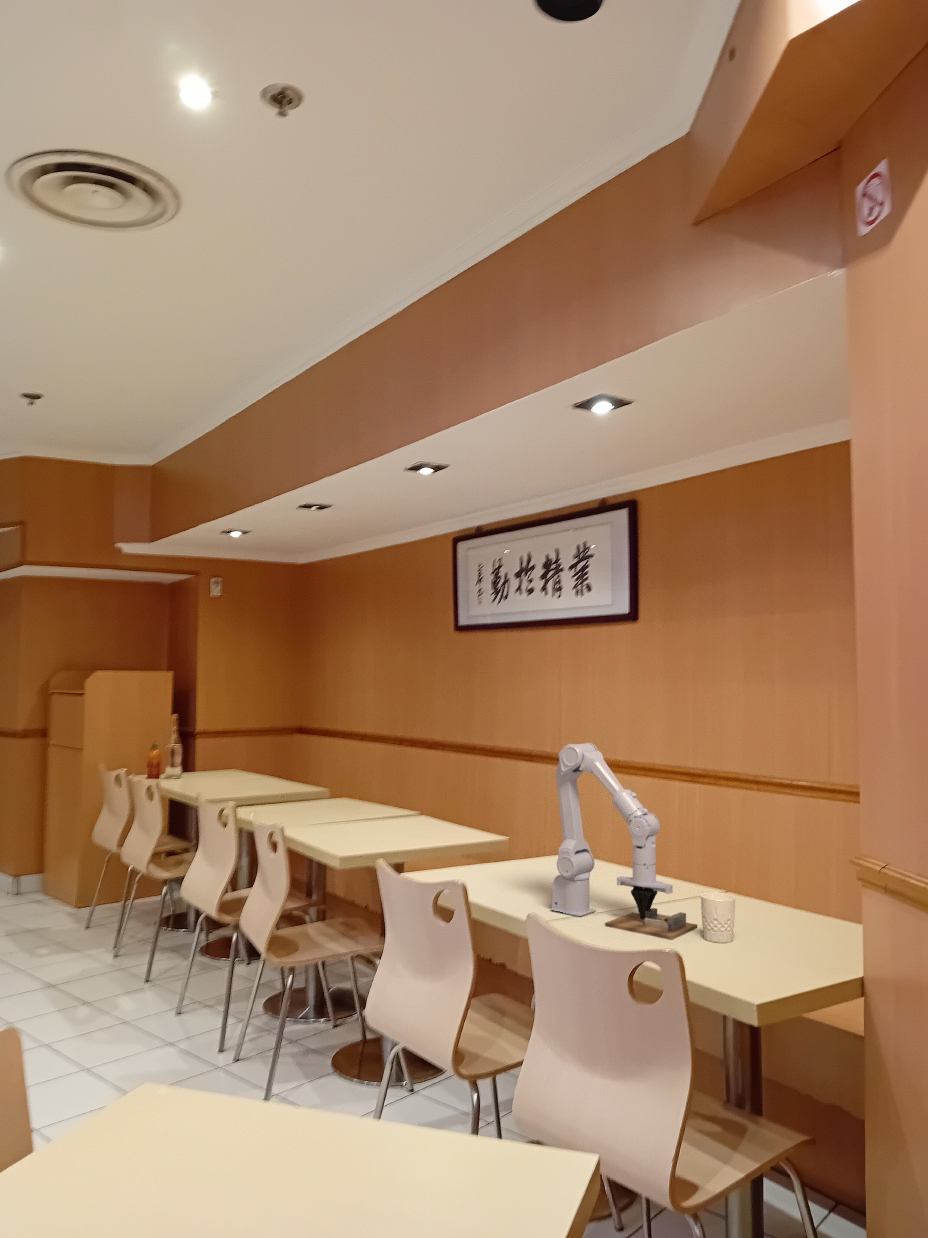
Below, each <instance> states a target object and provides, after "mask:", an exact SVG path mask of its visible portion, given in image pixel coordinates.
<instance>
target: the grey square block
mask: <svg viewBox="0 0 928 1238" xmlns="http://www.w3.org/2000/svg"><path fill="white" fill-rule="evenodd" d="M657 914H658V908H657V907H656V908H655V907H651V908H650V909H649V910H646V911H645V918H646V917H648V918H653V919H658V920H662V921H668V917H667V916H668V915H667V916H661V915H657Z"/></svg>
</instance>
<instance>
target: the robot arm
mask: <svg viewBox="0 0 928 1238" xmlns="http://www.w3.org/2000/svg"><path fill="white" fill-rule="evenodd" d="M603 756H604V755H603V754H602V753H601V751H600V750H598V748H597V746H596V745H595V744H593V743H592V742H584V743H576V744H575V743H568V744H566V745H565V746H564V747H563V748H562V749H561V751H559V752H558V760H559V761H558V764H557V767H556V771H555V781H556V790H557V799H558V805H559V806H558V807H559V815H560V825H561V831H562V832H561V833H562V843H560V846H559V848H558V850H557V851H558V857H557V861H556V868H557V871H558V873H559V875H556V876H555V877H554V878H553V881H552V886H551V908H550V909H551V910H556V911H560V912H563V913H562V914H565V913H566V914H567V915H571V916H577V917H583V916H586V915H588V914H591V913H594V912H596V910H597V909H596V908H592V907H590V877H591V872H592V871H593V870H594V869H595V858H594V855H593V854H592V852H591V846H590V845H589V843H588V842H587V840H586V839H585V838H584V830H583V829H584V828H583V820H582V813H581V804H580V797H579V795H580V794H579V789H578V779H579V777H580V776H582V774H583V773H584V772H585V773H589V774H593V776H595V777H596V779H597V780H598V781H599V782H600V783H601V785H602V786H603V787H604V788H605V789H606V790H607V792H608V793H609V794H610V795H611V796H612V804H613V806H614V807H615V809H616V811H618V812H619V814H620V816H621V817H622V818H623V819H624V821H626V823H627V824H628V826H627V829H628V830H627V831H628V833H629V834H630V836H631V839H632V841H631V842H632V877H629V876H621V875H620V876H617V877H616V886H620V887H621V886H625V887H631V888H632V889H630V893H631V896H632V898H633V900H634V901H635V904H636V907H637V911H638V913H639V915H640V919H643V920H645V911H646V910H649V909H651V908H652V905H653V903H654V900H655V898H656V896H657V894H658V893H659V892H660V893H665V894H668V895H670V894H673V889H674V888H673V884H669V883H666V882H664V881H663V882H662V881H658V880H657V834H658V833H660V828H661V826H660V825H661V824H660V821H659V819H658V817H657V815H655V814H654V813H651V812H649V810H648V809H647V808H645V807H644V805H642V803H641V802H640V801H639V799H638V798H637V797H638V795H637V794H636V792H634V791H633V792H632V790H631V789H625V788H624V787H623V786H622V784H621V783H620V782H619V780H618V778H617V777H616V776H615V775H614V773H613V772H612V770H611V769H610V767H609V765H608V764H607V763H606V761H605V759H604V757H603ZM551 910H550V911H551ZM560 912H559V913H560ZM566 914H565V915H566Z"/></svg>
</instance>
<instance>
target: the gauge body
mask: <svg viewBox="0 0 928 1238" xmlns="http://www.w3.org/2000/svg"><path fill="white" fill-rule="evenodd" d="M657 915H661V916H667V917H668V921H662V920H658V919H653V918H648V917H646V918H645V927H650V928H655V929H660V930H665V931H670V932H675V931H677V930H680V929H682V928H684V927H686V923H687V913H686V912H682V911H681V912H677V913H675V914H673V915H666V914H661V913H657Z"/></svg>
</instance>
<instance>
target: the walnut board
mask: <svg viewBox="0 0 928 1238" xmlns="http://www.w3.org/2000/svg"><path fill="white" fill-rule="evenodd" d="M604 926H605V927H609V928H613V929H618V930H623V931H629V932H632V933H637V934H642V935H647V936H651V937H655V938H656V937H657V938H662V939H666V940H671V941H673V940H675V939H677V938H679V937H680V936H683V935H686V934H687V933H690V932H692V931H693V930H696V929H697V928H698V924H696V923H690V922H686V927H684V928H682V929H680V930H677V931H675V932H670V931H665V930H660V929H655V928H650V927H645V920H643V919H640V915H639V912H638V913H637V912H633V911H632V912H630V913H629V912H628V914H625V915H621V916H619V917H616V918H614V919H611V920H608V921H606V922H605V923H604Z"/></svg>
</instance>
